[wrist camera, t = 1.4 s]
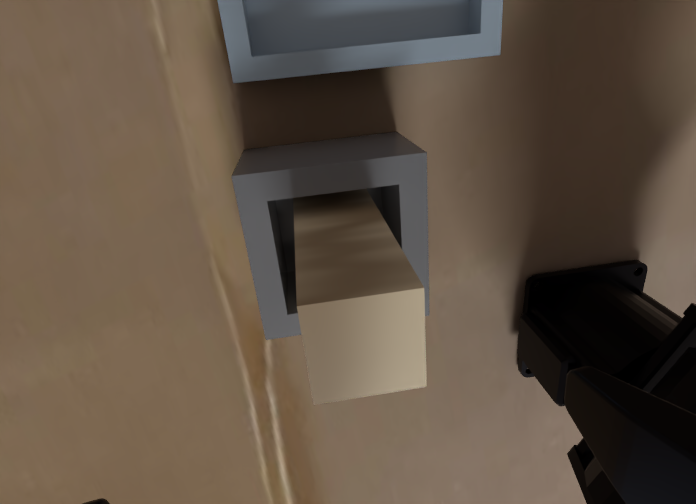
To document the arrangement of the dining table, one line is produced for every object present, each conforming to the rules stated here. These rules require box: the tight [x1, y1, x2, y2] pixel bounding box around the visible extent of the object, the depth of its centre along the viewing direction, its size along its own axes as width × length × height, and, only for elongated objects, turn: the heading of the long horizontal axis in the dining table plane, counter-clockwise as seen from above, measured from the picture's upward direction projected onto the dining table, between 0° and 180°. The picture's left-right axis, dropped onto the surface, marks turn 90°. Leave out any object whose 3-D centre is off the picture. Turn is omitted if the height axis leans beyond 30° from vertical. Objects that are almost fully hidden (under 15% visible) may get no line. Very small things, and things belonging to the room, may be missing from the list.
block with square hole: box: [232, 132, 429, 340], centre depth 18 cm, size 7×7×4 cm
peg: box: [293, 189, 427, 405], centre depth 15 cm, size 3×3×10 cm
